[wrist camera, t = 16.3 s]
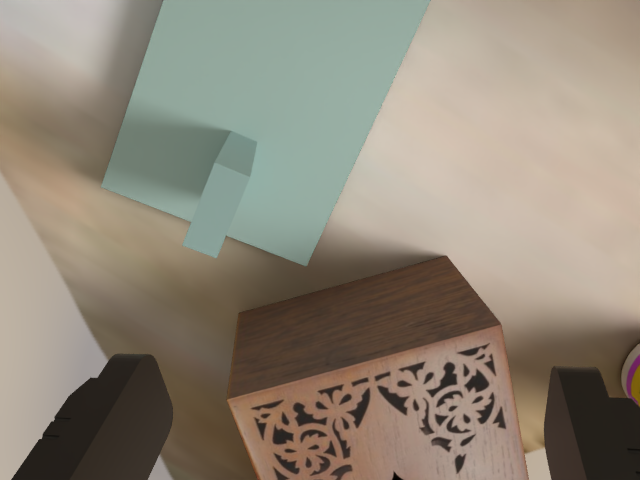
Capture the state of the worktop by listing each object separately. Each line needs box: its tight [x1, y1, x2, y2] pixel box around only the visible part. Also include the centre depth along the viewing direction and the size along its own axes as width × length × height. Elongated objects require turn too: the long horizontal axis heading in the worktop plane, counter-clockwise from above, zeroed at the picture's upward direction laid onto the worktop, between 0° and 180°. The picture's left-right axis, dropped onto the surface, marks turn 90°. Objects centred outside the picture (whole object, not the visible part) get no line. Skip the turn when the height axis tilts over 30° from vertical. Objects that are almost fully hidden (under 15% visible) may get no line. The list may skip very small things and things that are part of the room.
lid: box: [101, 0, 431, 266], centre depth 28 cm, size 17×13×11 cm
